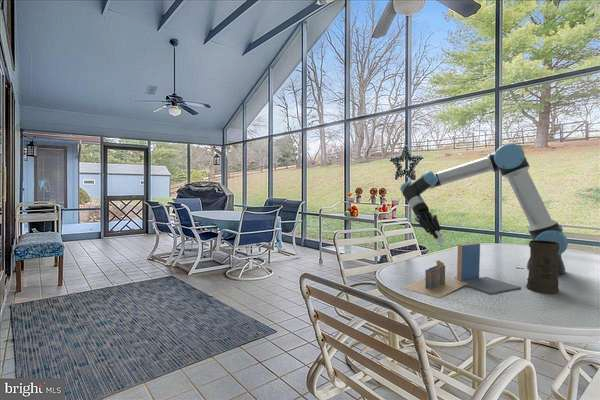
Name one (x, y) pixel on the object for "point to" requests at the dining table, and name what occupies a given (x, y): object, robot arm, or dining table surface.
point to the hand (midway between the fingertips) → (442, 243)
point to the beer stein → (543, 267)
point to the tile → (468, 261)
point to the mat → (489, 285)
